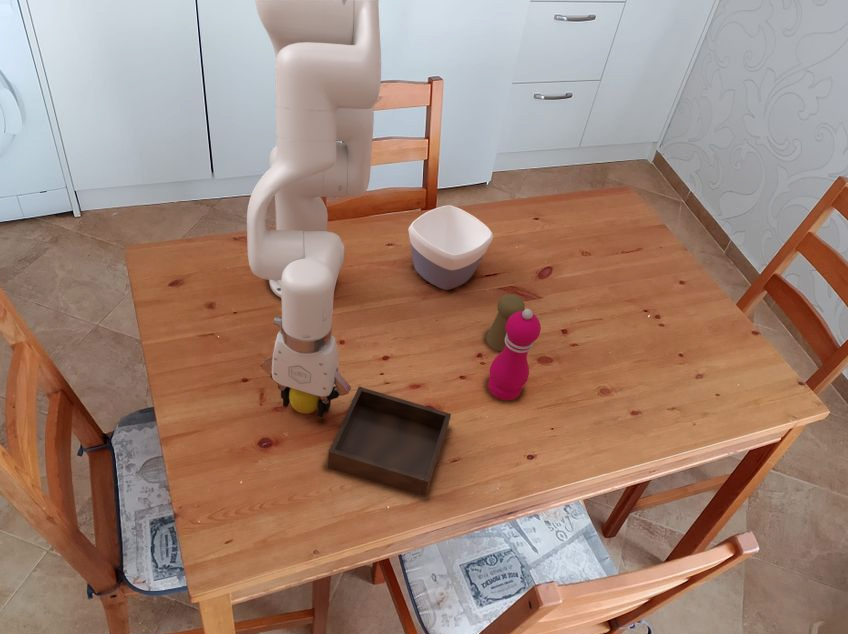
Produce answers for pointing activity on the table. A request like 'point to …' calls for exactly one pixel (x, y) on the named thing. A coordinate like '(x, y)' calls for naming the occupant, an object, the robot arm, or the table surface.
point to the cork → (503, 320)
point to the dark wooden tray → (389, 441)
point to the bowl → (448, 245)
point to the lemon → (303, 401)
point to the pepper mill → (514, 356)
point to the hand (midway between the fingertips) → (305, 405)
